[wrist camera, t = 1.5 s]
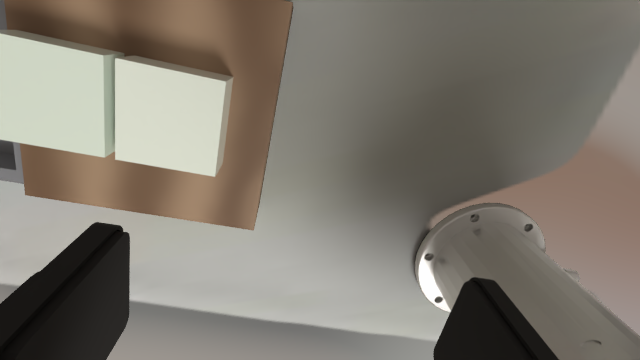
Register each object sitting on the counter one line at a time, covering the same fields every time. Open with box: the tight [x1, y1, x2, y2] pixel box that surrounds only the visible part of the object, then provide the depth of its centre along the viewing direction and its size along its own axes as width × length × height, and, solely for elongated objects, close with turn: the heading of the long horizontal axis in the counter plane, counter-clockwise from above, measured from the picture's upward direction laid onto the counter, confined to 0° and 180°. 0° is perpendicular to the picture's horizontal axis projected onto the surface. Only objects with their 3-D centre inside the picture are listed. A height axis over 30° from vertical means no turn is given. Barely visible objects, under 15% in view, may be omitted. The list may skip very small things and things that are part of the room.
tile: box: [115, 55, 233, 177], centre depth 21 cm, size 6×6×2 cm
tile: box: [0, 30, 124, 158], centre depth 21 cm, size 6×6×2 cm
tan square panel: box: [4, 0, 293, 230], centre depth 24 cm, size 16×16×4 cm
